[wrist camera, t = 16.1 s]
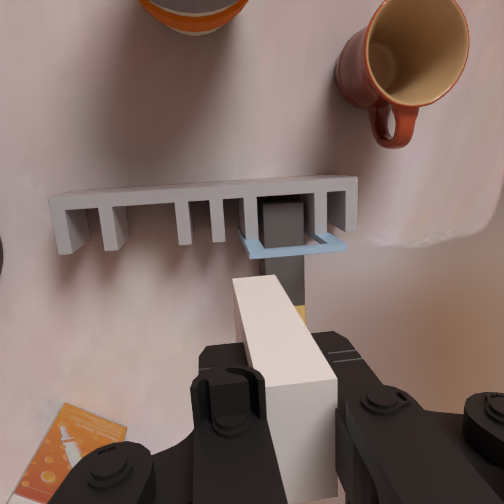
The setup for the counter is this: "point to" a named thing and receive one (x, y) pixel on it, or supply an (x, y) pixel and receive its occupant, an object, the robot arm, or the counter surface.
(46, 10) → the counter surface
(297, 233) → the grey banded bar
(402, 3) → the mug
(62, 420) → the small box
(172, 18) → the reusable coffee cup
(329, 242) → the blue bezel
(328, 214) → the grey slotted rack
